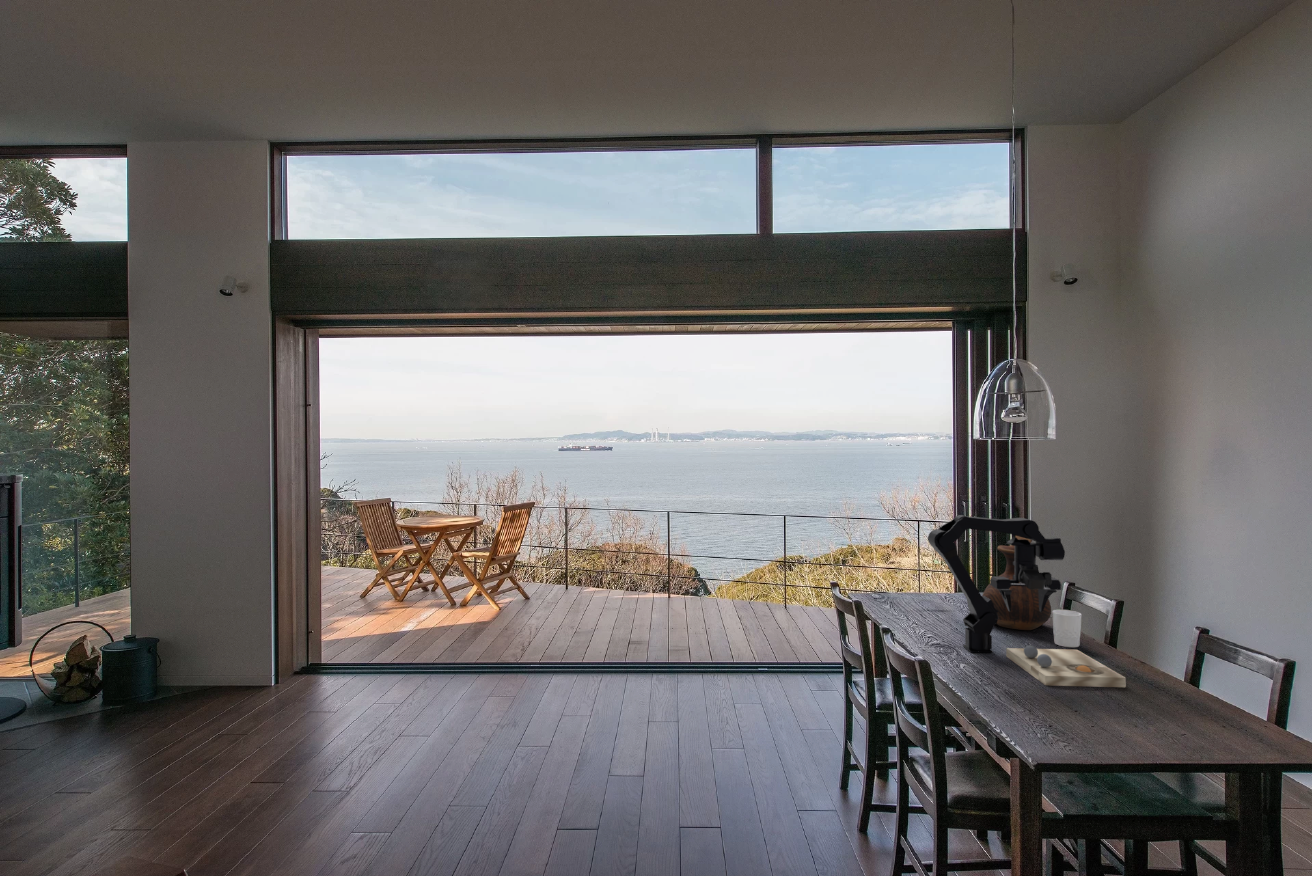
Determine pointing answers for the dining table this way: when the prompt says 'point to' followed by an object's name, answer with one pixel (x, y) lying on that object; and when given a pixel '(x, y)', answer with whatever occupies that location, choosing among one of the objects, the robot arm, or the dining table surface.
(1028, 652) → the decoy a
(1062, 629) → the white cup
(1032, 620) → the jug
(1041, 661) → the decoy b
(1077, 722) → the dining table surface
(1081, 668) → the ball
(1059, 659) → the board
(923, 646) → the dining table surface
